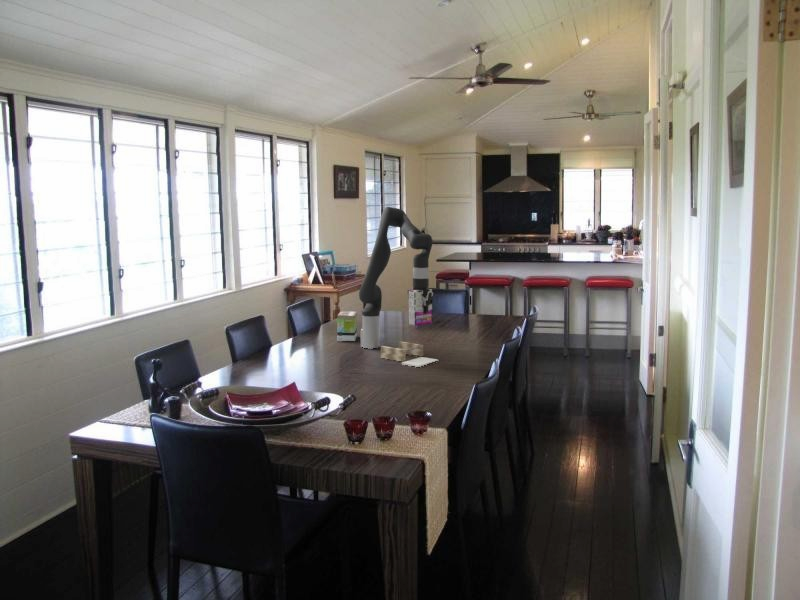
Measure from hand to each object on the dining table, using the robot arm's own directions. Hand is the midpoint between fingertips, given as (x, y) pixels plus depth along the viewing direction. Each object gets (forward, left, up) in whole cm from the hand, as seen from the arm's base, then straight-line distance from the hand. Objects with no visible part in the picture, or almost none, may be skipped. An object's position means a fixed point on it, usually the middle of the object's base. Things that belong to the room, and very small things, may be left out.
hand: (420, 312), depth 320 cm
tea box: (-66, +21, -25) cm, 73 cm away
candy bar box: (0, 0, -6) cm, 6 cm away
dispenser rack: (-14, +4, -24) cm, 28 cm away
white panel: (0, 0, -24) cm, 24 cm away
